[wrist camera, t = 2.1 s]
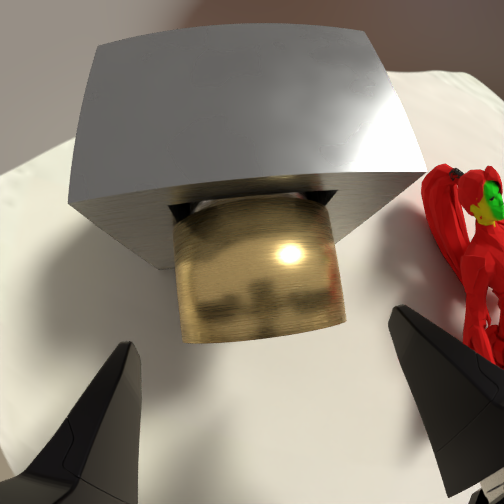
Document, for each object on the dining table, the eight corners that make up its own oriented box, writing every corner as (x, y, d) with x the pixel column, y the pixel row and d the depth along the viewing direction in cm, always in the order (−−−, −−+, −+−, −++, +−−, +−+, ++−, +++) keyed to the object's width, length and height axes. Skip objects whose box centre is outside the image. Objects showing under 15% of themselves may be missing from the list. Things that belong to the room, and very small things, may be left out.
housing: (326, 250, 20) (427, 171, 9) (158, 269, 19) (67, 203, 8) (307, 157, 22) (364, 31, 10) (154, 171, 21) (97, 46, 9)
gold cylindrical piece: (320, 319, 14) (374, 319, 9) (193, 336, 14) (166, 348, 8) (294, 166, 16) (323, 93, 10) (180, 176, 15) (156, 104, 10)
